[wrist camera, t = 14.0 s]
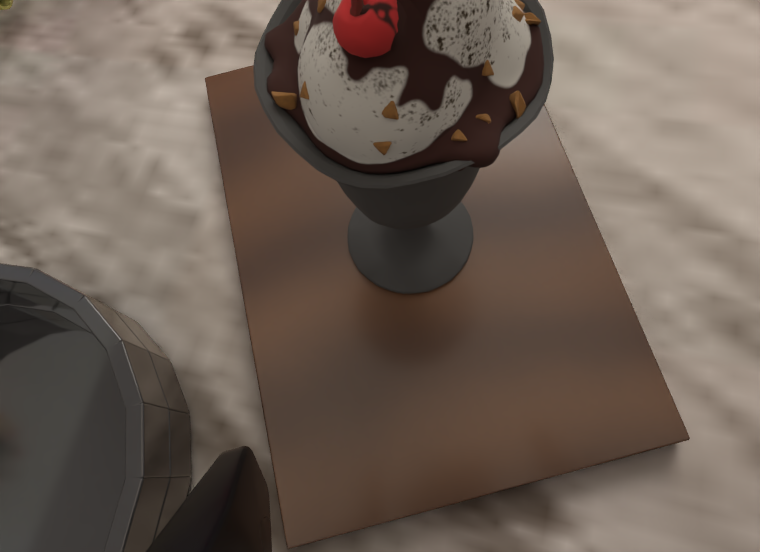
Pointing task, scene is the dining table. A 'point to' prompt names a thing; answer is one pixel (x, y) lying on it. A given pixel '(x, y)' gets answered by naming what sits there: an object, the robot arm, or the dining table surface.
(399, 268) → the sundae
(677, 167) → the dining table surface
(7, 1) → the key
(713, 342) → the dining table surface
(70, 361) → the skillet
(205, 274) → the dining table surface
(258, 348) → the walnut board
